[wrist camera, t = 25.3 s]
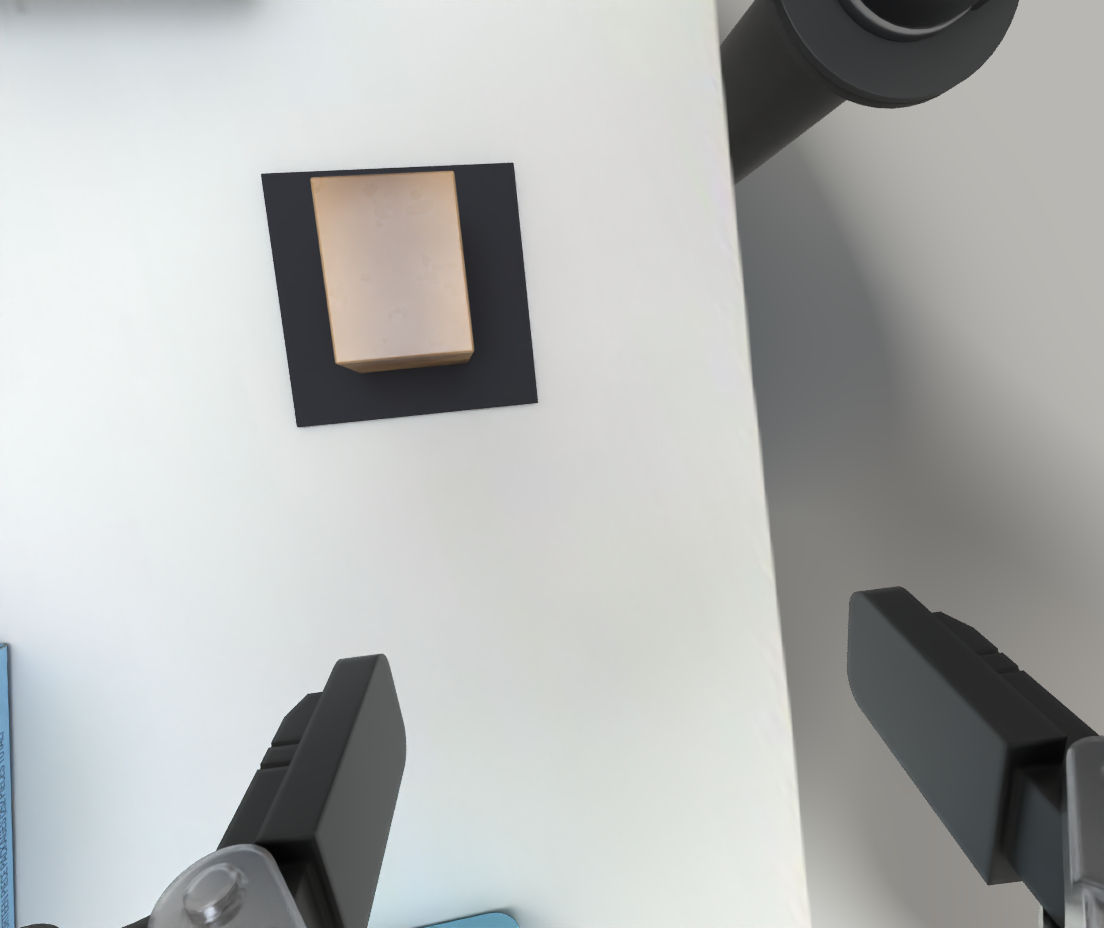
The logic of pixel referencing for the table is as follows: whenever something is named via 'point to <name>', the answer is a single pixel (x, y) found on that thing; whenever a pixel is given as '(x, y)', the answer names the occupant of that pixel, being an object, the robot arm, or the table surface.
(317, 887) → the robot arm
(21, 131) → the table surface
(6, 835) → the gum box
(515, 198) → the mat
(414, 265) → the small box
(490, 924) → the data package
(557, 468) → the table surface
